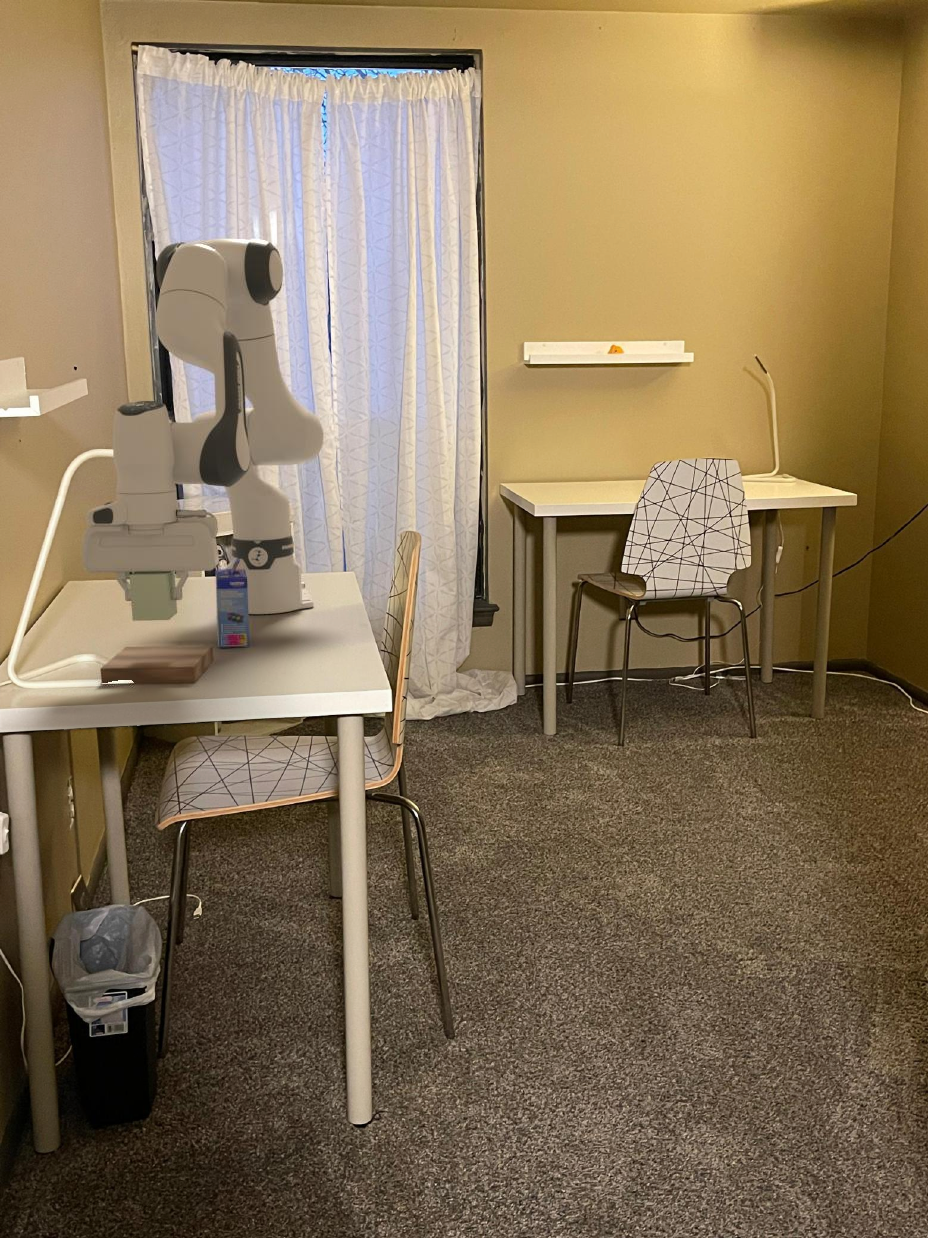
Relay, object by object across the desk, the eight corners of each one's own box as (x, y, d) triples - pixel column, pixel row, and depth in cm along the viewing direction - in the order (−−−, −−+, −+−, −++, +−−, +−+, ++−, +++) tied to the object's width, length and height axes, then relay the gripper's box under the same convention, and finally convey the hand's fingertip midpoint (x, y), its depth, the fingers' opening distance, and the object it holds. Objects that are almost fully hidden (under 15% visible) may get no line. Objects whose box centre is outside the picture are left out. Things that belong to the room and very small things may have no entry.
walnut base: (127, 661, 188) (125, 646, 187) (213, 660, 188) (212, 645, 188) (101, 684, 174) (100, 668, 174) (195, 682, 174) (193, 666, 174)
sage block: (142, 613, 182) (138, 569, 180) (177, 612, 182) (174, 568, 180) (132, 620, 176) (129, 575, 175) (168, 620, 176) (165, 574, 175)
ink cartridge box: (251, 647, 197) (247, 563, 194) (218, 649, 195) (213, 564, 192) (249, 634, 206) (244, 554, 203) (217, 636, 205) (212, 555, 202)
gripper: (220, 507, 179) (225, 595, 182) (87, 509, 179) (94, 597, 182) (212, 511, 173) (217, 602, 176) (74, 513, 173) (82, 605, 175)
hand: (154, 600), depth 179 cm, fingers closed on sage block, 5 cm apart
